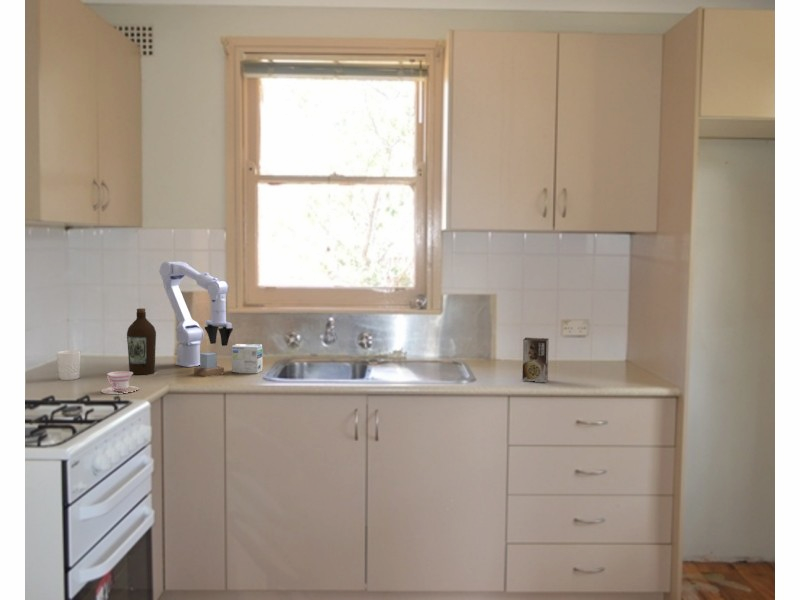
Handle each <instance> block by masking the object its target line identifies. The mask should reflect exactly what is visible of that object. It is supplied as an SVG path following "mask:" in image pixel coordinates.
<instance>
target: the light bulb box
mask: <svg viewBox="0 0 800 600" xmlns="http://www.w3.org/2000/svg"><path fill="white" fill-rule="evenodd" d="M262 371H263V344H259V343H258V344H254V343H253V344H250V343H244V344H243V343H236V344H234V345H232V346H231V373H232V372H239V373H238V374H259V373H261V372H262Z"/></svg>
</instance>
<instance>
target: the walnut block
mask: <svg viewBox="0 0 800 600" xmlns="http://www.w3.org/2000/svg"><path fill="white" fill-rule="evenodd" d="M193 371H194V372H193V375H195V374H198V375H197V376H200V375H203V376H202V377H205V376H209V377H212V376H211V375H215V376H218V375H217V374H221V375H223V374H222V373H224V374H225V367H223V366H218V365H217V368H211V369H204V368H200V366H194V368H193Z"/></svg>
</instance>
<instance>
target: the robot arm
mask: <svg viewBox="0 0 800 600" xmlns="http://www.w3.org/2000/svg"><path fill="white" fill-rule="evenodd" d="M159 275H160V277H161V280H162V283H163V288H164V291H165V293H166V295H167V298H168V300H169V304H170V305H171V308H172V309H173V312H174V314H175V317H176V320H177V323H178V325H177V327H176V328H175V332H176V338H177V340H178V342H179V343H180V344H179V345H178V346H177V349H176V355H177V357H176V363H175V365H176V366H181V367H186V368H191V367H192V368H193V367H200V366H199V365H200V353H201V352H200V351H201V343H202V341H203V339H204V338H205V332H206V335H207V336H208V339H209V342H210V343H209V344H211V345H214V344H215V345H216V343H217V335H218V332H219V335H220V343H221V346H223V347H225V346H228V344H229V339H230V336H231V334H232V332H233V330H234V329H233V325H232V322H229V321H227V313H226V312H227V310H226V309H227V305H226V304H227V302H226V301H227V297H226V296H227V295H226V294H228V293H229V289H230V287H229V284H228V283H227V282H226V281H225V280H223V279H221V280H219V279H218V278H217V277H214V276H212V275H210V273H209V272H199V271H198V270H196V269H194V268H193V267H192V266H190V265H189V264H188V262H185V261H182V260H180V261H164V262H162V263H161V265H160V267H159ZM185 276H186V277H188V278H189V279H192V280H194V281H195V282H196V284H197V286H199V287H201V288H202V289H204V290H206V291H207V293H208V294H209V299H210V319H207V320H205V326H204V329H205V331H204V329H203V328H202V327H201V326H200V324H199V323H198V322H197V321H196V320H194V319H193V318H192V316H191V313H190V311H189V309H188V306H187V304H186V302H185V298H184V297H183V296H184V295H183V294H182V291H181V289H180V287H179V286H180V284H181V282H182V281H183V279H184V278H185Z"/></svg>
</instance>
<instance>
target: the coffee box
mask: <svg viewBox="0 0 800 600" xmlns="http://www.w3.org/2000/svg"><path fill="white" fill-rule="evenodd" d="M522 380H524V381H523V382H527V381H535V382H534V383H542V382H545V384H546V383H547V382H548V381H549V338H546V337H545V338H544V337H524V338H523V339H522V379H521V381H522Z"/></svg>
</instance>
